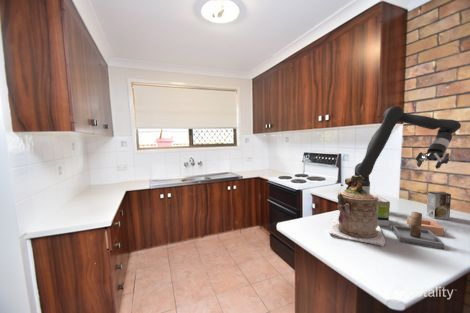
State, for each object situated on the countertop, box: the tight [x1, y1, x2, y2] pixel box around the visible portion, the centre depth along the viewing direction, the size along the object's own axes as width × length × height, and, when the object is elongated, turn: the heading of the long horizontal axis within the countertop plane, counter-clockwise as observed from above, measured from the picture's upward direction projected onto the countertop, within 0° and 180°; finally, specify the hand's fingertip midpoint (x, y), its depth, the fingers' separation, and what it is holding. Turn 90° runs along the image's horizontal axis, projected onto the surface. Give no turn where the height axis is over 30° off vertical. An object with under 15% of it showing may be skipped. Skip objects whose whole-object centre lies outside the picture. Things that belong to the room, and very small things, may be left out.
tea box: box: [374, 194, 391, 227], centre depth 126 cm, size 15×10×15 cm
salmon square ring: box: [406, 216, 445, 237], centre depth 114 cm, size 12×12×4 cm
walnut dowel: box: [410, 211, 423, 238], centre depth 104 cm, size 4×4×12 cm
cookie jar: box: [329, 174, 386, 247], centre depth 110 cm, size 25×25×32 cm
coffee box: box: [426, 191, 452, 220], centre depth 131 cm, size 9×6×16 cm
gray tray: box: [391, 224, 445, 250], centre depth 104 cm, size 16×16×2 cm
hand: (427, 166), depth 121 cm, fingers open, 8 cm apart
